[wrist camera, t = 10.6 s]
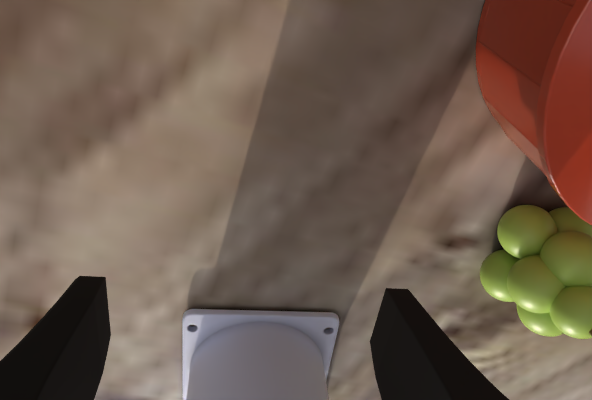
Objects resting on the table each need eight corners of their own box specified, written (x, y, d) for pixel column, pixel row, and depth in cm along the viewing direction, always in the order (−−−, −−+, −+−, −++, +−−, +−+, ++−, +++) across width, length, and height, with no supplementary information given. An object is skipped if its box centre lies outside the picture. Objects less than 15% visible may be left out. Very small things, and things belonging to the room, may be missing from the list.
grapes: (546, 281, 27) (624, 387, 21) (465, 278, 26) (524, 387, 21) (588, 196, 24) (691, 294, 18) (499, 191, 23) (578, 290, 18)
